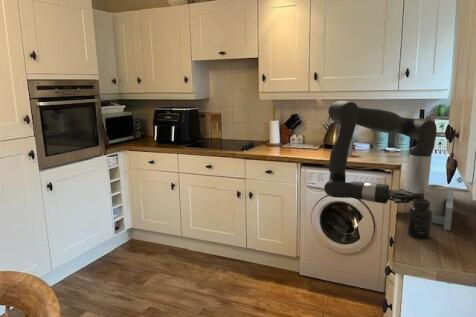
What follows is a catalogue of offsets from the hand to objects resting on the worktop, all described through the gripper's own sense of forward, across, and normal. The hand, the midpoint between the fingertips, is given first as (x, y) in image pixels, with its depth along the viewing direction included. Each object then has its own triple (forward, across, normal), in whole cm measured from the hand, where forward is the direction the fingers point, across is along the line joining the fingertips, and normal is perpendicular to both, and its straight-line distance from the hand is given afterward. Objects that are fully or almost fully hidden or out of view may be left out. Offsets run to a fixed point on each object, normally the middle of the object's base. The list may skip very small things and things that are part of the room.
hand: (423, 199), depth 139 cm
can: (+4, 0, +6) cm, 7 cm away
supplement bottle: (0, -21, +7) cm, 22 cm away
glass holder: (-57, +105, +6) cm, 120 cm away
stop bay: (+5, 0, +6) cm, 8 cm away
